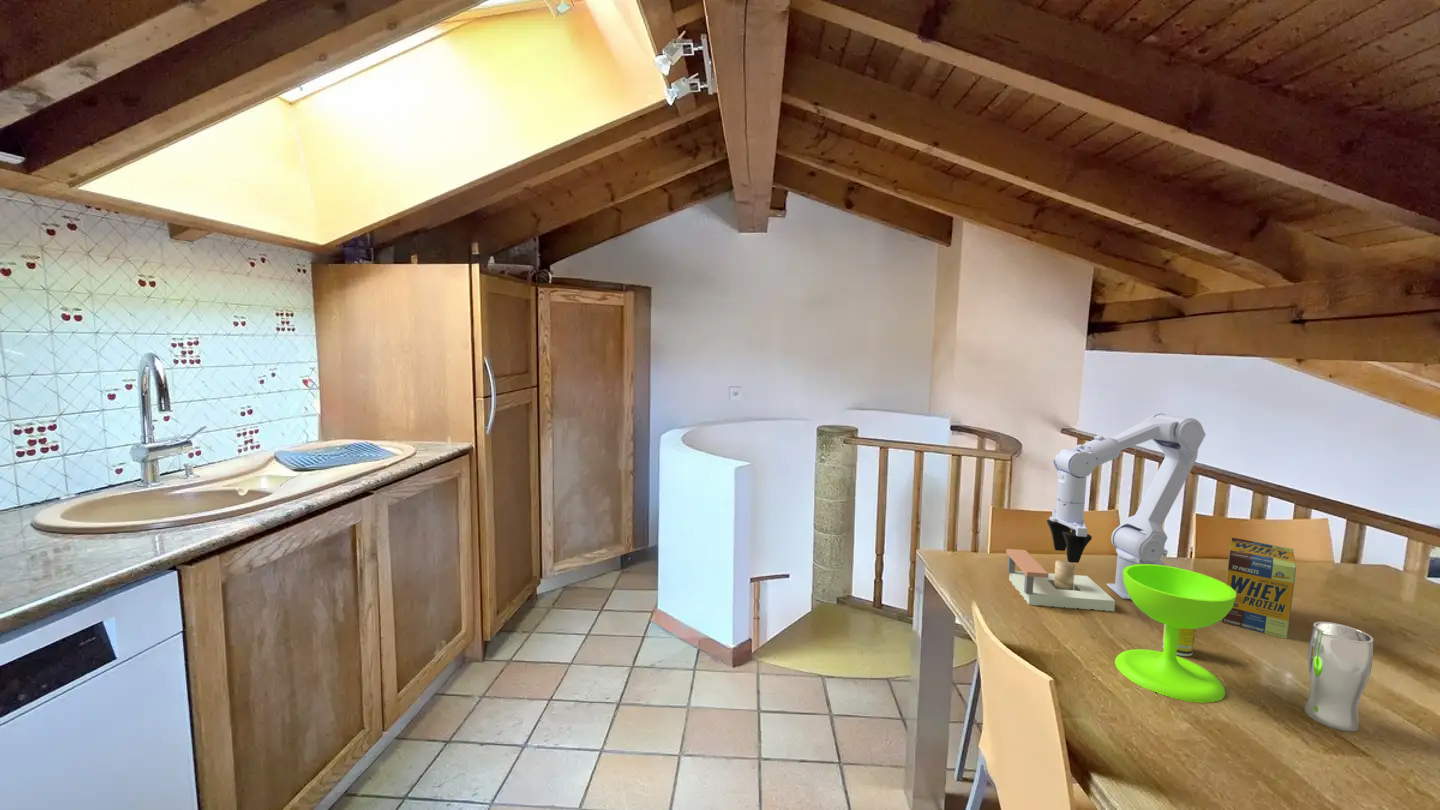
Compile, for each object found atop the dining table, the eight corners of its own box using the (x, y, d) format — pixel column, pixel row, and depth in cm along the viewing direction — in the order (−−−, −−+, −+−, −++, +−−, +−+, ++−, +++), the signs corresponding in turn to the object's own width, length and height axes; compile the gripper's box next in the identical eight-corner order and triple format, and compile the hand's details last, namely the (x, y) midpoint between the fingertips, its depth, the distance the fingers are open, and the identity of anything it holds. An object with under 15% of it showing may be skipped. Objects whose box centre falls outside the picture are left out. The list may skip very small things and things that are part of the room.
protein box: (1220, 623, 126) (1228, 554, 124) (1224, 600, 137) (1231, 536, 135) (1288, 640, 119) (1297, 567, 117) (1285, 614, 130) (1294, 547, 128)
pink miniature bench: (1023, 570, 147) (1025, 550, 146) (1046, 596, 132) (1048, 573, 132) (1005, 569, 148) (1006, 548, 147) (1025, 595, 133) (1027, 572, 132)
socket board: (1086, 585, 144) (1087, 575, 144) (1114, 611, 131) (1115, 600, 130) (1009, 580, 147) (1009, 570, 147) (1028, 604, 134) (1029, 594, 133)
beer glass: (1288, 706, 97) (1299, 621, 95) (1326, 704, 97) (1337, 620, 96) (1335, 734, 90) (1348, 643, 88) (1376, 732, 91) (1389, 642, 89)
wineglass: (1234, 714, 95) (1246, 610, 93) (1116, 683, 103) (1125, 586, 101) (1215, 668, 108) (1226, 575, 106) (1112, 644, 117) (1120, 558, 115)
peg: (1068, 592, 140) (1070, 560, 140) (1075, 599, 137) (1078, 566, 136) (1050, 591, 141) (1052, 559, 140) (1057, 598, 137) (1059, 565, 136)
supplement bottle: (1198, 658, 112) (1202, 616, 111) (1170, 655, 112) (1174, 614, 112) (1183, 645, 116) (1187, 605, 115) (1157, 643, 117) (1160, 603, 116)
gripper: (1040, 491, 144) (1036, 544, 146) (1064, 508, 130) (1060, 566, 131) (1071, 492, 143) (1067, 546, 144) (1099, 509, 129) (1094, 568, 130)
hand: (1066, 555), depth 138 cm, fingers open, 7 cm apart
